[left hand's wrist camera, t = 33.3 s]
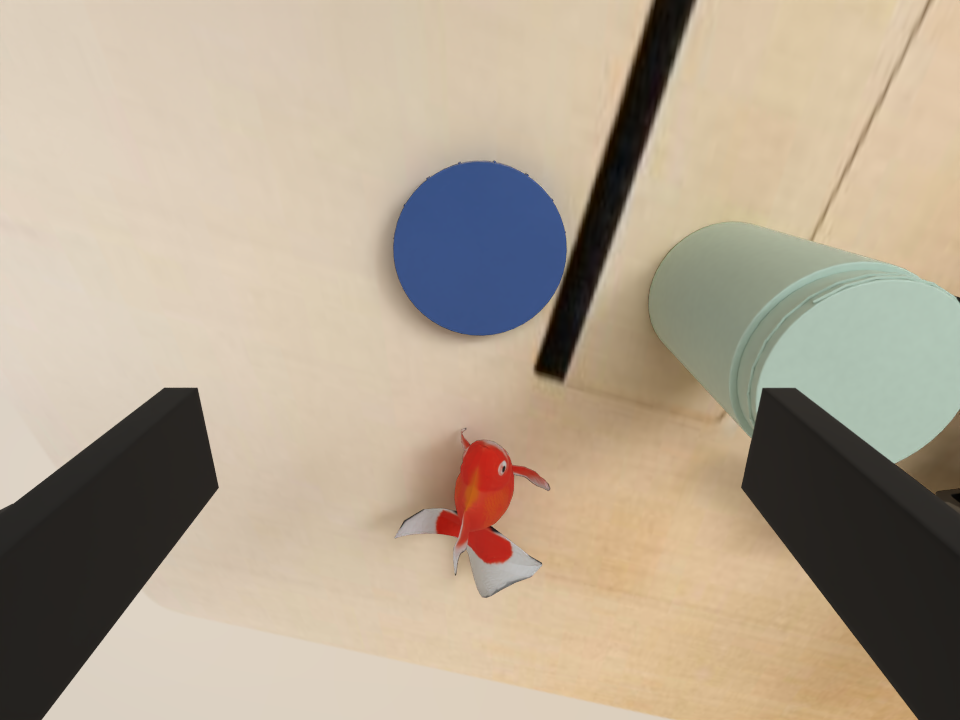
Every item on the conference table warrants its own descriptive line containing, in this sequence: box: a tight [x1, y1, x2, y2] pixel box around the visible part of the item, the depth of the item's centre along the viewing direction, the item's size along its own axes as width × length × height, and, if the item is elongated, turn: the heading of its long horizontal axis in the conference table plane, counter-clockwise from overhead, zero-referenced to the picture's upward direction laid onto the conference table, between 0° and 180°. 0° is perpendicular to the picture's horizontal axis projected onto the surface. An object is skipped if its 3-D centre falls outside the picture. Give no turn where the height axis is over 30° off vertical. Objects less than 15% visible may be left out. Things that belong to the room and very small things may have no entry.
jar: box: [648, 222, 960, 464], centre depth 31 cm, size 10×10×16 cm
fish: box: [395, 428, 550, 598], centre depth 41 cm, size 11×16×10 cm
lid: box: [393, 161, 567, 335], centre depth 36 cm, size 11×11×2 cm
